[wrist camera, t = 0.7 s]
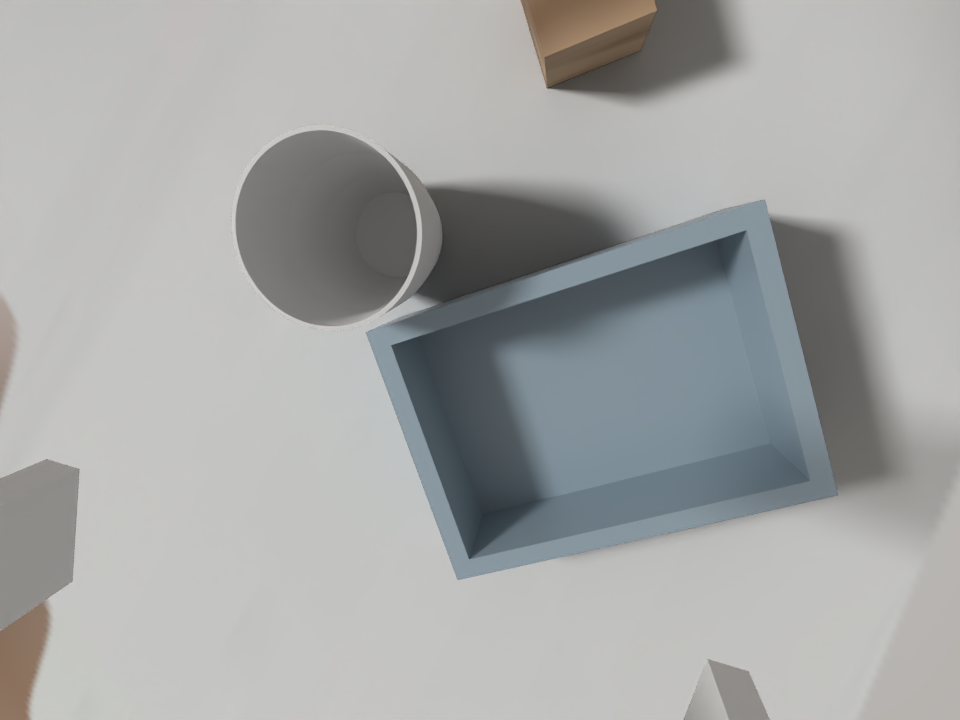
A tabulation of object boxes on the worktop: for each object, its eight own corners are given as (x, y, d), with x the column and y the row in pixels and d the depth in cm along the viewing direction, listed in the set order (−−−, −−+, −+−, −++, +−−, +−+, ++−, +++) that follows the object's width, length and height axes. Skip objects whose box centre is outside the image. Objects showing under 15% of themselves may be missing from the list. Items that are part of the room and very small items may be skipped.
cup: (433, 139, 30) (373, 89, 21) (486, 276, 31) (452, 290, 22) (308, 196, 32) (198, 174, 22) (362, 325, 33) (280, 357, 23)
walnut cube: (518, -9, 28) (509, -61, 24) (612, -51, 27) (624, -115, 23) (547, 88, 29) (544, 57, 24) (640, 50, 28) (657, 10, 23)
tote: (399, 317, 33) (365, 332, 27) (725, 208, 29) (765, 199, 23) (474, 526, 35) (457, 580, 29) (788, 450, 31) (838, 495, 25)
